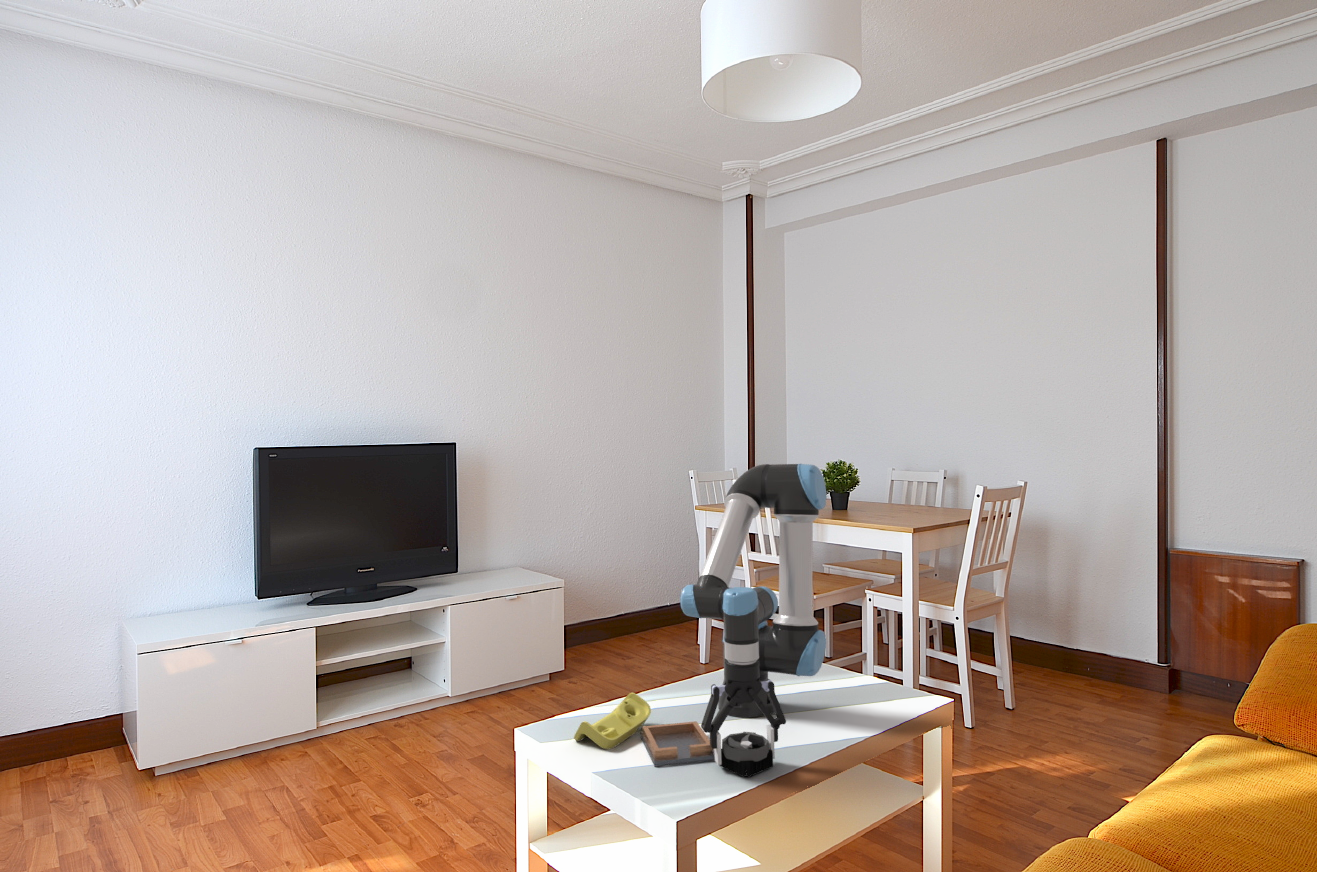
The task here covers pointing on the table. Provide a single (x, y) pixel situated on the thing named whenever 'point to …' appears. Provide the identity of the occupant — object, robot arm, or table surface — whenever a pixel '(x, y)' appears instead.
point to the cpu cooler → (746, 753)
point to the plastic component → (617, 723)
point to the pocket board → (677, 744)
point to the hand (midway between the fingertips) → (744, 759)
